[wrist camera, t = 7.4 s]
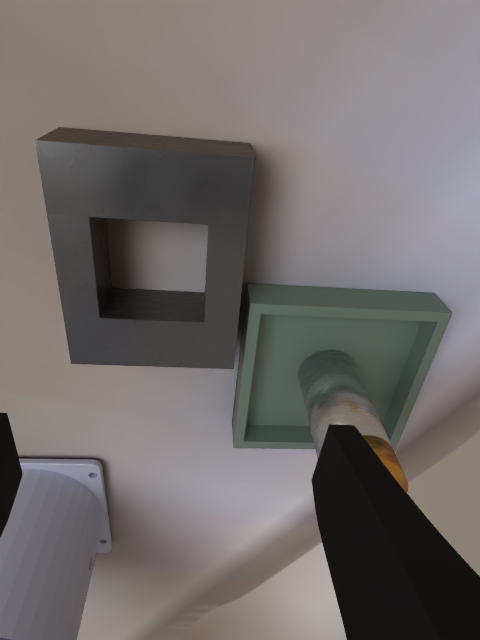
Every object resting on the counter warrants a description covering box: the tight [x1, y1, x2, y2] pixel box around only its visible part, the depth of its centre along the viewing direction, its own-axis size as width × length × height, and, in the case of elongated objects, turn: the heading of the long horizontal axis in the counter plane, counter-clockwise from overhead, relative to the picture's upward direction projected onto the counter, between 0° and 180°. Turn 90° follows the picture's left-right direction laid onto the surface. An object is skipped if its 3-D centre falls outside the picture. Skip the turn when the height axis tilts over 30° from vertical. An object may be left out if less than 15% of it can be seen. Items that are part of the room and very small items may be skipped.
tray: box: [232, 283, 452, 450], centre depth 22 cm, size 9×9×2 cm
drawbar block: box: [35, 127, 255, 369], centre depth 17 cm, size 9×7×2 cm
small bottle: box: [298, 350, 408, 493], centre depth 19 cm, size 3×3×7 cm
